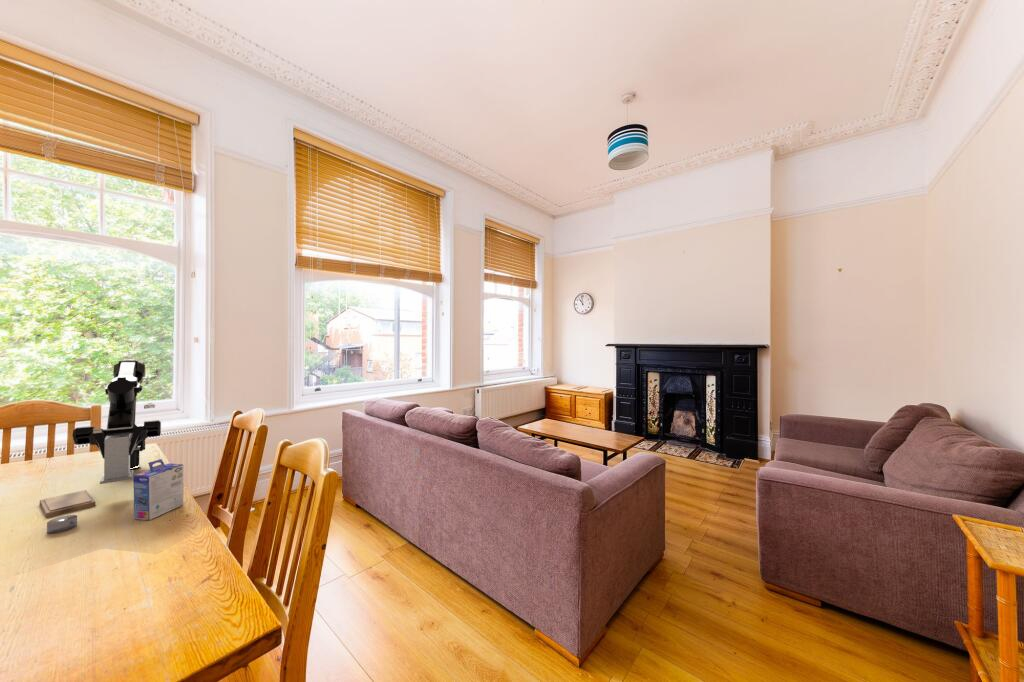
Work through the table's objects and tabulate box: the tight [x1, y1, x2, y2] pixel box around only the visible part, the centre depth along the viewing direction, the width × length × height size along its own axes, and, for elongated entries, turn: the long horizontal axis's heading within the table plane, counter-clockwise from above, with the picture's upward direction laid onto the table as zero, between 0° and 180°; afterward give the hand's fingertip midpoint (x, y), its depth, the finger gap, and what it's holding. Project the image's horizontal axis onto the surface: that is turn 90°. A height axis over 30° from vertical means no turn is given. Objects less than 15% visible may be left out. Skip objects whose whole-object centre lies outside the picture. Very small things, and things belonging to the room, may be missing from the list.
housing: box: [99, 433, 134, 485], centre depth 114 cm, size 6×6×13 cm
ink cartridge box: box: [132, 458, 184, 521], centre depth 107 cm, size 10×6×14 cm, turn 174°
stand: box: [39, 489, 97, 518], centre depth 109 cm, size 9×13×2 cm
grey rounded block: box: [46, 514, 78, 535], centre depth 96 cm, size 5×5×2 cm
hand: (117, 456), depth 113 cm, fingers closed on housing, 5 cm apart
